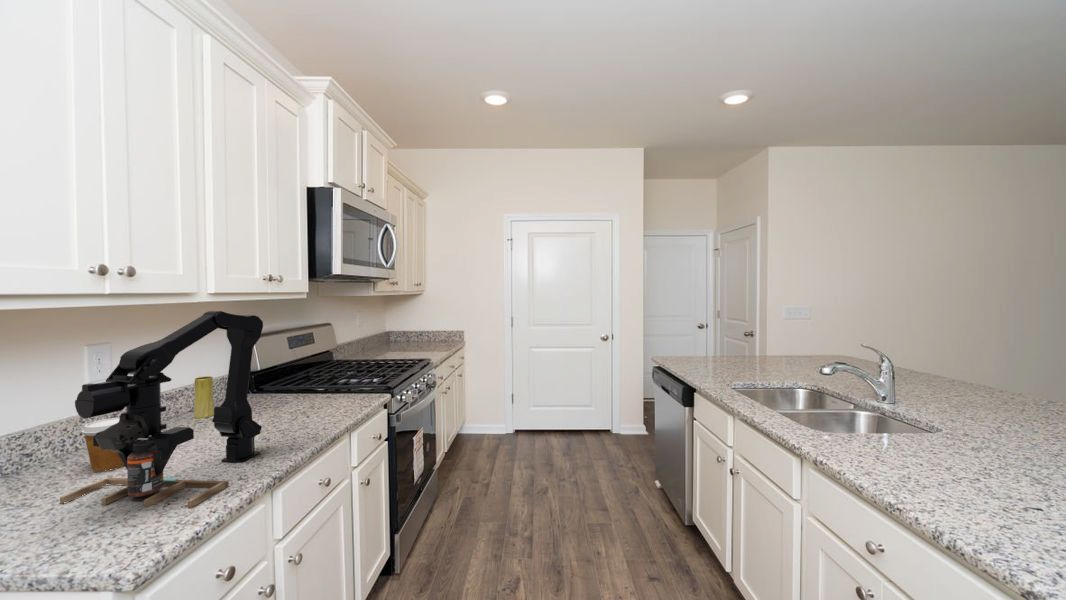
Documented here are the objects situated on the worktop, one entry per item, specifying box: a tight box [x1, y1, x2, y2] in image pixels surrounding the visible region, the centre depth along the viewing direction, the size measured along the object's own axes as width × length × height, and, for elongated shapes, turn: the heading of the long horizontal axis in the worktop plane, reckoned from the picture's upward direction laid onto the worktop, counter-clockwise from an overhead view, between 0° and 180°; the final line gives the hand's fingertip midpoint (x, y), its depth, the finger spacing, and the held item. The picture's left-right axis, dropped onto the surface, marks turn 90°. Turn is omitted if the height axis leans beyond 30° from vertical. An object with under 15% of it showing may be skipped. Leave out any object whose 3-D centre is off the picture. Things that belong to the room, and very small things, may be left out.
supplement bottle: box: [126, 441, 164, 498], centre depth 94 cm, size 6×6×11 cm
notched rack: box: [59, 477, 230, 509], centre depth 95 cm, size 10×30×2 cm, turn 86°
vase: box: [193, 375, 215, 419], centre depth 155 cm, size 6×6×14 cm
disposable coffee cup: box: [81, 416, 125, 472], centre depth 110 cm, size 10×10×12 cm
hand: (145, 474), depth 94 cm, fingers closed on supplement bottle, 6 cm apart
